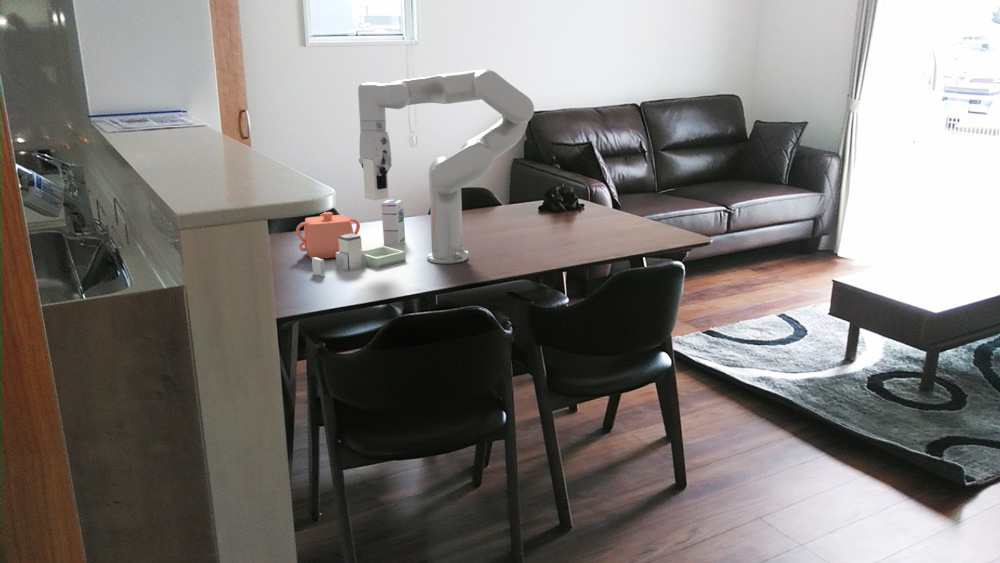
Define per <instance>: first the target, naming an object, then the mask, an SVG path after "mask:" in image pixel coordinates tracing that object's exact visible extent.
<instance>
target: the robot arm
mask: <svg viewBox="0 0 1000 563" xmlns="http://www.w3.org/2000/svg"><path fill="white" fill-rule="evenodd" d="M357 88H358V89H357V93H358V94H357V95H358V113H359V130H360V132H359V158H358V163H359V164H360V165H361V167H362V169H363V158H366V159H372V160H374V164H375V165H376V167H377V173H378V176H377V189H385V188H387V180H386V175H387V176H388V174H389V173H388V172H389V170H390V169H391V167H393V166H392V152H391V142H390V137H389V133H388V130H387V124H386V123H387V122H386V120H387V119H386V109H392V110H393V109H394V110H401V109H404V108H405V107H407V106H412V105H413V106H414V105H423V104H439V105H440V104H441V105H448V104H450V105H451V104H456V103H457V104H458V103H464V102H473V101H480V100H482V101H483V102H484V103H485V104H487V105H488V106H489V107H491V108H492V109H493V110H494V111H496V112H498V114H500V115H501V116H500V118H499V120H498V121H497V122H496V123H495V124H493V125H492V126H491V127H489V128H488V129H487V130H484V131H483V132H481V133H480V134H478V135H476V136H475V137H472V138H471V139H469V140H467V141H466V142H464V143H463V144H462V146H461V148H460V149H459V150H458V151H457V152H456V153H455V152H454V154H452V155H450V156H440V157H437V158H435V159H434V160H433V161H432V163H431V164H430V167H429V169H428V181H429V182H428V183H429V184H428V185H429V199H430V200H429V201H430V202H429V204H430V234H431V239H430V240H431V252H430V253H428V254H427V256H426V258H427V260H428V262H430V263H434V264H442V265H443V264H447V265H449V264H456V263H458V264H459V263H460V262H464V261H466V260H468V258H469V256H470V251H468V250H465V245H463V220H462V219H463V217H462V209H463V207H462V204H463V203H462V188H464V187H466V186H467V185H469V184H470V183H472V182H474V181H475V180H477V179H478V178H480V177H482V176H483V175H484V174H486V173H487V172H489V171H490V169H491V168H492V166H493V164H494V160H495V159H497V158H498V157H500V156H502V154H505V153H506V152H507V151H509V150H511V149H512V148H513V147H514V146H515V145H517V144H518V143H519V142H520V141H521V140H522V138H523V137H524V135H525V132H526V130H527V127H528V123H529V122H530V120H531V119H532V118H533V116H534V113H535V106H534V103H533V100H531V98H530V97H529V96H528V95H526V94H525V93H523V92H522V91H521V90H519V89H518V88H516V87H515V86H514V85H512V84H511V83H509V81H507V80H506V79H505V78H503V77H502V76H501V75H499V73H497V72H495V71H494V70H490V69H484V68H483V69H478V70H477V69H476V70H468V71H460V72H452V73H444V74H436V75H434V76H433V75H432V76H428V77H426V76H425V77H419V78H418V77H417V78H411V79H403V80H396V81H392V82H391V83H383V84H382V83H380V82H365V83H364V82H363V83H360V84H359V85H358V87H357ZM381 163H383V165H381ZM380 167H383V168H382V169H380Z"/></svg>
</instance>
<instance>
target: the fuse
mask: <svg viewBox="0 0 1000 563" xmlns="http://www.w3.org/2000/svg"><path fill="white" fill-rule="evenodd" d="M381 165H383V163H381ZM382 168H383V167H380V169H382ZM362 169H363V182H364V184H363V185H364V199H367V200H372V201H379V200H384V199H386V200H387V199H389V181H388V174H387V175H386V180H387V188H385V189H377V176H378V173H377V167H376V165H375V164H374V160H372V159H366V158H363V168H362Z"/></svg>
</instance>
